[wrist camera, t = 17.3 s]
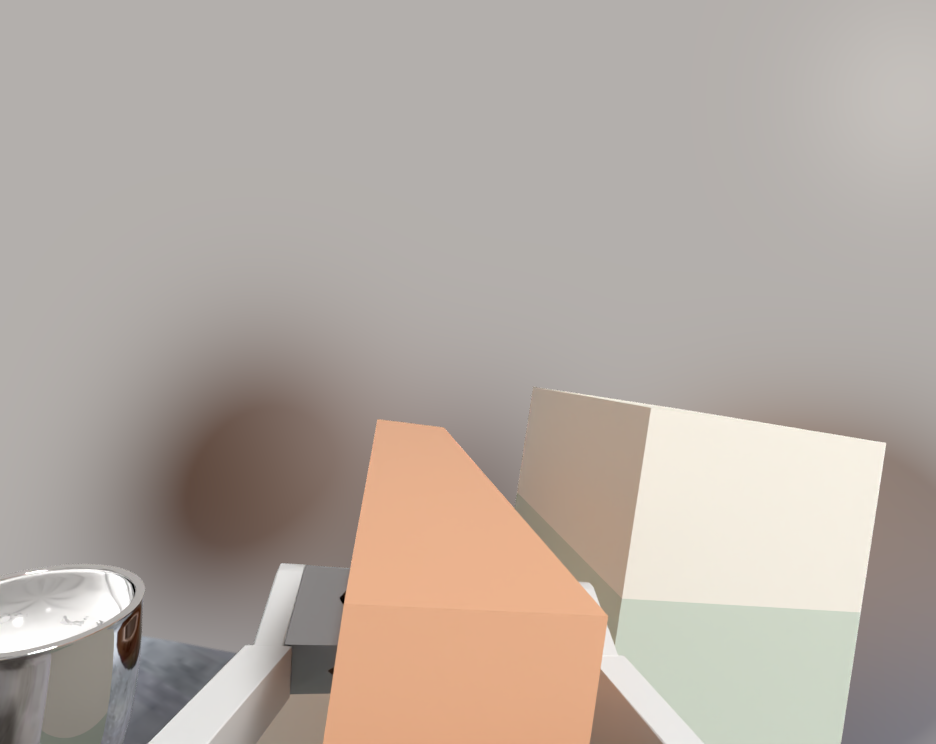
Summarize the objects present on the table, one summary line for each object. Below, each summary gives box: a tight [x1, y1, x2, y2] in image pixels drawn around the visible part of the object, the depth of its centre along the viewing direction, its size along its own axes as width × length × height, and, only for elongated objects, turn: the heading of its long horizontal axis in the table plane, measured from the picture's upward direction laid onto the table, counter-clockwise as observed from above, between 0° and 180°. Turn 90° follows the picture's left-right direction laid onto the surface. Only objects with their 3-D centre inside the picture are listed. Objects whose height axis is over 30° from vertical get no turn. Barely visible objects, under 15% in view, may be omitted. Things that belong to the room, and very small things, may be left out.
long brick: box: [323, 419, 608, 744], centre depth 16 cm, size 20×4×4 cm, turn 11°
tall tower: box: [515, 387, 886, 744], centre depth 21 cm, size 12×10×26 cm
